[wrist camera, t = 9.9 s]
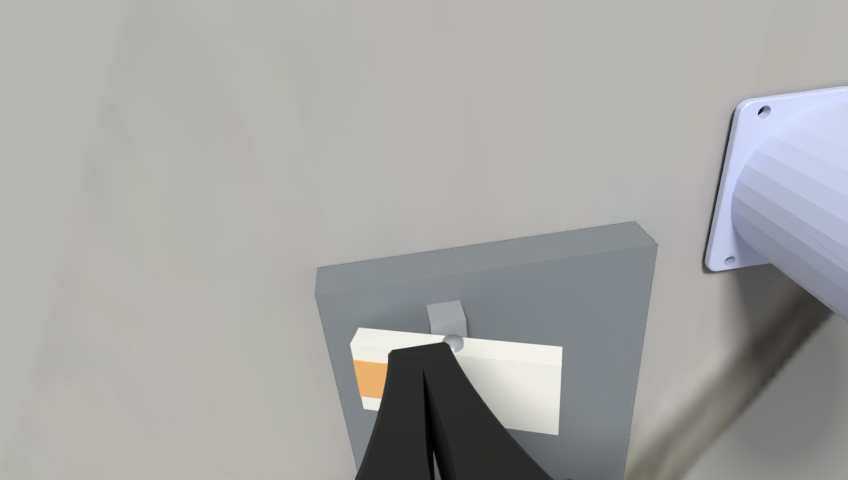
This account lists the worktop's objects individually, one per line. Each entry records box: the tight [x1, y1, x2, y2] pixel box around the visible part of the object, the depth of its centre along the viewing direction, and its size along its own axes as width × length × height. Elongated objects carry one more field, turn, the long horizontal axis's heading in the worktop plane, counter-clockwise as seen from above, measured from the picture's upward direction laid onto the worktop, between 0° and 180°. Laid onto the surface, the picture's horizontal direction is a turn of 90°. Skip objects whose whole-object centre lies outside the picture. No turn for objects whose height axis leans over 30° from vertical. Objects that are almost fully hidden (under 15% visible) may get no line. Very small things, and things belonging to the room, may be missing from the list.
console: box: [315, 221, 658, 480], centre depth 27 cm, size 14×19×3 cm
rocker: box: [350, 328, 562, 435], centre depth 21 cm, size 8×4×1 cm, turn 95°
